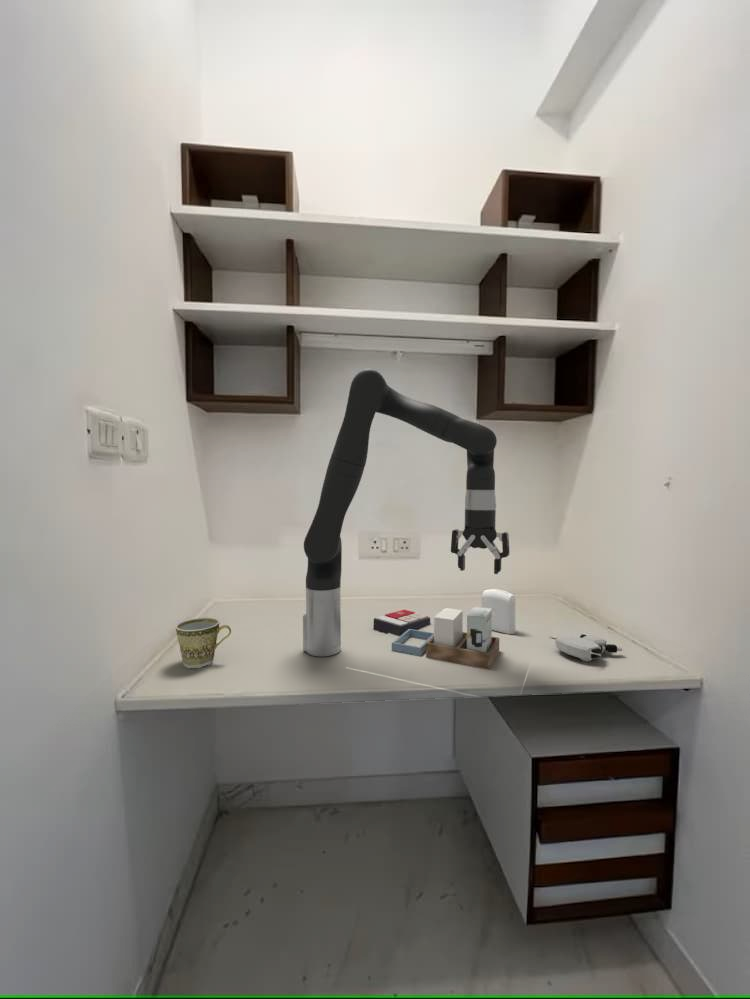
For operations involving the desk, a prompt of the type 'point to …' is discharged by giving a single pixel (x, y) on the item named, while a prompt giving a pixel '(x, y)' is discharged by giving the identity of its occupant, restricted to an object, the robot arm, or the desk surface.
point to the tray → (410, 649)
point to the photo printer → (500, 609)
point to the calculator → (400, 622)
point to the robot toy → (584, 646)
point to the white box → (448, 627)
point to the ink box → (479, 629)
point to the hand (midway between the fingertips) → (479, 571)
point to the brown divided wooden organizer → (463, 653)
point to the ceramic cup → (198, 640)
